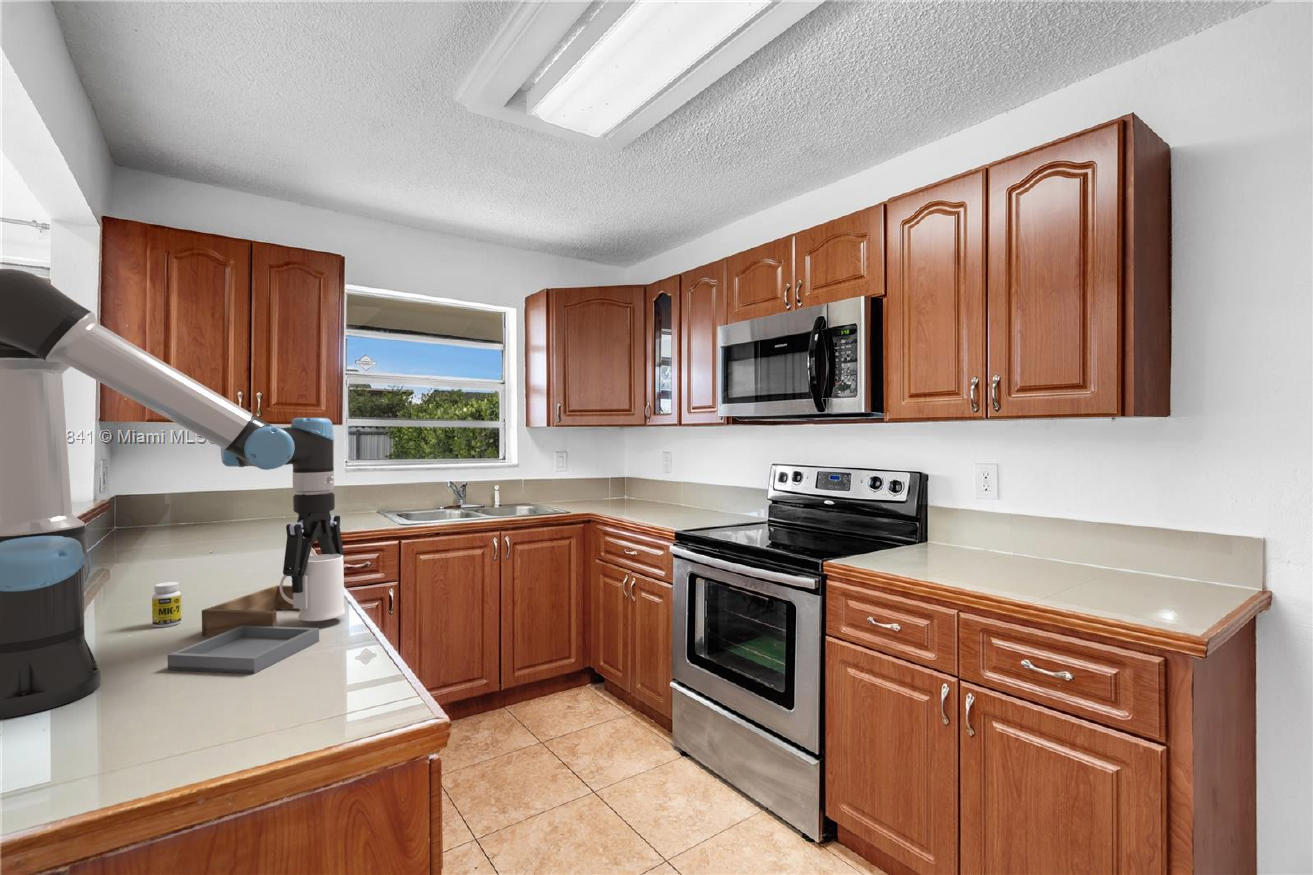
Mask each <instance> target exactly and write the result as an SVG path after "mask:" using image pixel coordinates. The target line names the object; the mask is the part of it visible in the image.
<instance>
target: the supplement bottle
mask: <svg viewBox="0 0 1313 875" xmlns="http://www.w3.org/2000/svg"><path fill="white" fill-rule="evenodd" d="M179 585H180V583H179V582H178V581H168V582H160V583H156V584H155V585H154V594H153V595H152V597H151V602H152V603H151V608H152V612H151V614H152V615H151V616H152V618H151V621H152V622H151V623H152V627H154V628H167V627H172V626H177V625H179V624H180V623H181V622H182V593H181V591H179V589H180V586H179Z"/></svg>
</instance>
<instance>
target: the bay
mask: <svg viewBox="0 0 1313 875" xmlns="http://www.w3.org/2000/svg"><path fill="white" fill-rule="evenodd" d="M282 589H283V592H284V594H285V595H286V596H287V597H288V598H290V599H292V600H293V592H292V585H284V584H283V585H282ZM278 609H279V610H298V609H297V608H293V604H290V603H288V602H287V601H286V600H284V598H283V597H282V595H281V593H280V584H279V585H278V584H277V585H276V584H275V585H274V586H270V587H268V588H265V589H261V590H259V591H255V592H253V593H250V594H247V595H244V596H241V597H238V598H235V599H231V600H229V601H226V602H223V603H219V604H216V605H214V606H213V605H212V606H211V607H208V608H204V609H202V610H201V631H202V632H201V636H202V637H214V636H217V635H219V634H222V633H224V632H227V631H230V630H232V629H235V628H237V627H240V626H242V625H244V626H273V627H278V626H277V625H278V624H277V622H278V620H277V618H278V617H277V611H276V610H278Z"/></svg>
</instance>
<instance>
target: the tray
mask: <svg viewBox="0 0 1313 875" xmlns="http://www.w3.org/2000/svg"><path fill="white" fill-rule="evenodd" d="M319 642H320V627H297V626H294V627H293V626H277V627H273V626H244V625H242V626H240V627H237V628H235V629H232V630H230V631H227V632H224V633H222V634H219V635H217V636H211V637H210V638H207V639H205V640H201V641H199V642H197V643H194V644H192V645H191V644H190V645H189V646H186V647H184V648H181V649H178V650H176V651H174V652H171V653H169V654H167V670H168V671H185V672H186V671H189V672H190V671H191V672H209V673H211V672H212V673H213V672H214V673H230V674H231V673H232V674H250V675H251V674H252V675H253V674H256V673H259V672H261V671H263V670H265V669H267V668H268V667H271V666H273V665H275V664H277V663H278V662H280V661H283V660H285V659H287V658H288V657H291V656H293V655H295V654H296V653H297V654H298V653H299V652H301V651H303V650H305V649H307V648H308V647H311V646H313V645H315V644H316V643H319Z"/></svg>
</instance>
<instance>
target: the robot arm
mask: <svg viewBox="0 0 1313 875" xmlns="http://www.w3.org/2000/svg"><path fill="white" fill-rule="evenodd" d="M70 368H73V369H75V370H76V371H79V372H80V373H82V374H84V375H86V376H88V377H90V378H92V379H93V380H95V381H97V382H98V383H101V384H102V385H104V386H106V387H108V388H110V389H111V390H114V391H116V392H117V393H119V394H121V395H123V396H125V397H126V398H129V399H130V400H132V401H134V402H136V403H137V404H139V405H141V406H143V407H146V408H147V409H150V410H151V411H153V412H155V413H156V414H158V415H160V416H162V417H164V418H166V419H168V420H170V421H172V422H173V423H175V424H177V425H178V426H181V428H185V429H186V430H188V431H190V432H192V433H193V434H196V436H199V437H201V438H203V439H205V440H207V441H209V442H211V443H212V444H214V445H216V446H218V447H220V456H221V462H222V464H223V465H224V466H225V467H228V468H229V467H230V468H231V467H234V468H235V467H238V468H245V467H255V468H258V469H260V470H265V471H267V470H269V471H270V470H274V469H278V468H281V467H283V466H287V465H292V492H294V493H296V494H294V495H293V496H292V500H293V501H292V502H293V504H292V506H293V508H292V509H293V512H294V513H296V514H297V515H298V518H297V521H296V523H288V524H286V526H285V529H286V535H287V536H286V544H285V554H284V560H283V567H282V568H283V570H282V574H283V576H284V575H286V576H287V577H291V586H292V592H293V608H297V609H296V610H300V609H306V608H308V575H304V574H305V570H306V567H307V563H308V559H309V556H311V555H310V554H311V552H312V548H313V544H314V543H316V541H317V544H318V546H319V550H320V551H321V554H331V555H333V554H340V555H343V560H344V559H345V554H344V545H343V540H342V533H341V516H340V515H331V511H334V510H335V507H336V506H335V503H336V501H335V496H336V495H335V493H334V492H332V491H333V490H334V489H335V474H334V473H335V471H334V470H335V469H334V465H335V464H334V463H335V462H334V460H335V459H334V458H335V457H334V455H335V454H334V452H335V450H334V448H335V447H334V442H335V439H334V429H333V428H334V427H333V422H332V421H331V419H330V418H328V417H295V418H293V419H292V420H291V424H290V426H287V427H279V426H275V425H272V424H270V423H269V422H267V421H265V420H263V419H261V418H260V417H258V416H256V415H255V414H253V413H252V412H250V411H248V410H246V409H245V408H243V407H241V406H240V405H238V404H236V403H234V402H232V401H231V400H230V399H227V398H226V397H225V396H222V395H221V394H219V393H218V392H216V391H214V390H212V389H211V388H209V387H208V386H206V385H204V384H202V383H200V382H199V381H197V380H195V379H193V378H192V377H190V376H188V375H186V374H185V373H184V372H181V371H180V370H178V369H177V368H175V367H173V366H171V365H170V364H168V363H166V362H164V361H163V360H161V359H159V358H158V357H156V356H154V355H153V354H151V353H149V352H148V351H146V350H144V349H143V348H141V347H138V346H137V345H136V344H134V343H132V342H130V341H129V340H128V339H126V338H124V337H122V336H120V335H118V334H117V333H115V332H113V331H111V330H110V329H108V328H106V327H105V326H103V325H101V324H99V323H98V321H97V318H96V315H95V313H94V312H92V311H91V310H89V309H87V308H86V307H84V306H82V305H81V304H79V303H77V302H76V301H74V300H73V299H71V298H70V297H69V296H68V295H66V294H64V293H63V292H61V291H60V290H59V289H58V288H57V287H55V286H54V285H53V284H52V283H50V282H48V280H46V279H44V278H42V277H40V276H38V275H36V274H34V273H31V272H28V271H24V270H22V269H21V270H19V269H14V268H0V719H6V718H13V717H19V716H25V715H29V714H34V713H39V712H41V711H45V710H46V711H47V710H49V709H52V708H56V707H59V706H62V705H65V704H68V703H72V702H75V701H77V700H79V699H82V698H83V697H86V696H88V695H90V694H92V693H93V692H95V691H96V690H97V689H98V688H99V687H100V686H101V669H100V667H99V666H98V664H97V662H96V659H95V656H94V655H93V654H94V653H93V652H92V651H91V648H90V646H89V644H88V642H87V640H86V636H85V597H84V596H85V595H84V594H85V593H84V592H85V589H84V588H85V583H86V582H87V580H88V578H89V574H90V572H91V564H92V563H91V557H90V555H89V554H88V553H89V552H88V550H87V549H88V548H87V539H86V538H87V536H86V535H87V534H86V523H85V522H84V520H83V521H82V520H81V519H80V518H78V517H76V516H75V515H74V514H73V510H72V494H71V493H72V492H71V480H70V468H69V455H68V454H69V452H68V450H69V448H68V439H67V437H68V436H67V425H66V424H67V423H66V408H65V396H64V395H65V394H64V383H63V382H64V380H63V379H64V378H63V374H64V373H65V372H66V371H67V370H69V369H70ZM299 569H300V570H299Z"/></svg>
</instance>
